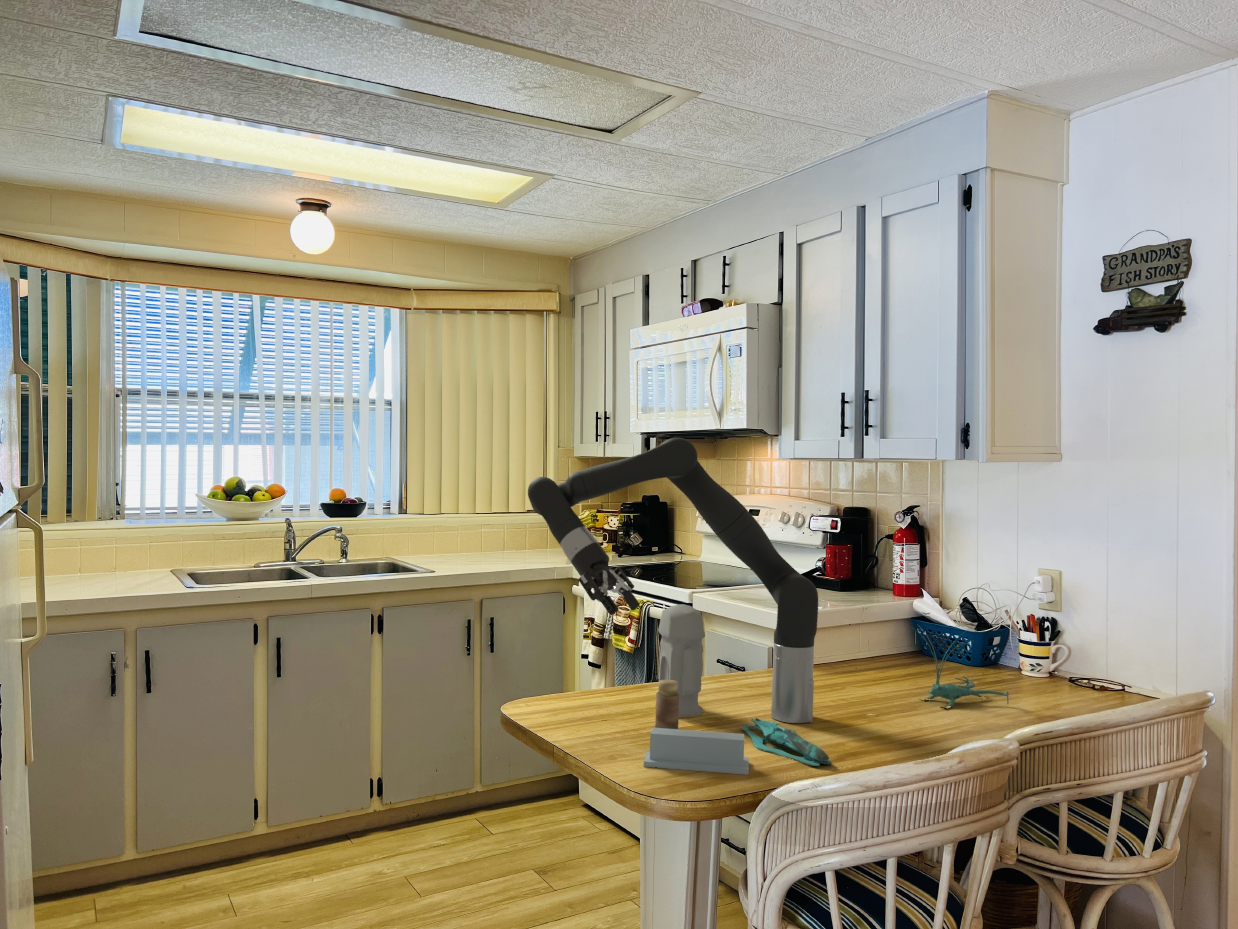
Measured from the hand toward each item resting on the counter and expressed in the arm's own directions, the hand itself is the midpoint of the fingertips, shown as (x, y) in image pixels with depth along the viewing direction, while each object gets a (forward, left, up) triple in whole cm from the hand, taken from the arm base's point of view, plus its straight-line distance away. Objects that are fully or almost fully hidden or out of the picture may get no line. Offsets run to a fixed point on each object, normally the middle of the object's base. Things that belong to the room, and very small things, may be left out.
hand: (626, 610), depth 195 cm
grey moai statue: (-11, -20, -27) cm, 35 cm away
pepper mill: (-10, +4, -26) cm, 28 cm away
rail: (-17, +17, -26) cm, 35 cm away
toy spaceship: (-34, +2, -27) cm, 44 cm away
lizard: (-77, -43, -27) cm, 92 cm away
